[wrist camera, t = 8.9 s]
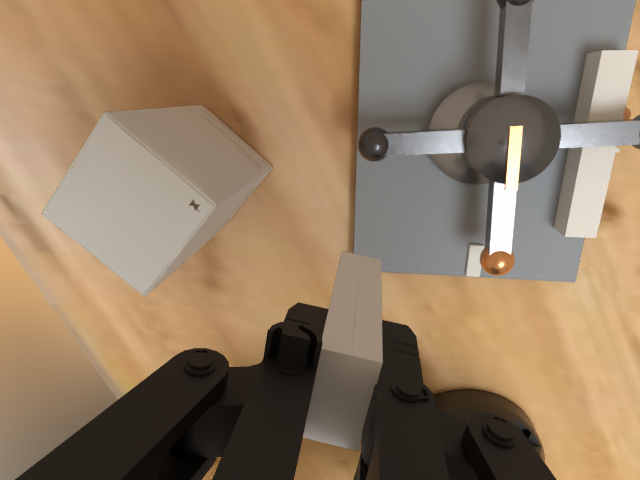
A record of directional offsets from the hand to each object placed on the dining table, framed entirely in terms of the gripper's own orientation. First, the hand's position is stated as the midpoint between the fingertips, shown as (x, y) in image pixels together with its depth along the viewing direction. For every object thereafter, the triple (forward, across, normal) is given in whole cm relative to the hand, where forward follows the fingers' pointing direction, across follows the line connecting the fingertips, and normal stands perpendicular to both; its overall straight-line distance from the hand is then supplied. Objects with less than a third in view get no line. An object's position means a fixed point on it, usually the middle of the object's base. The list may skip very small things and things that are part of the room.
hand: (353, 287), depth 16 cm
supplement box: (+25, -15, -3) cm, 29 cm away
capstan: (+23, +9, +6) cm, 25 cm away
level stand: (+24, +8, +4) cm, 26 cm away
